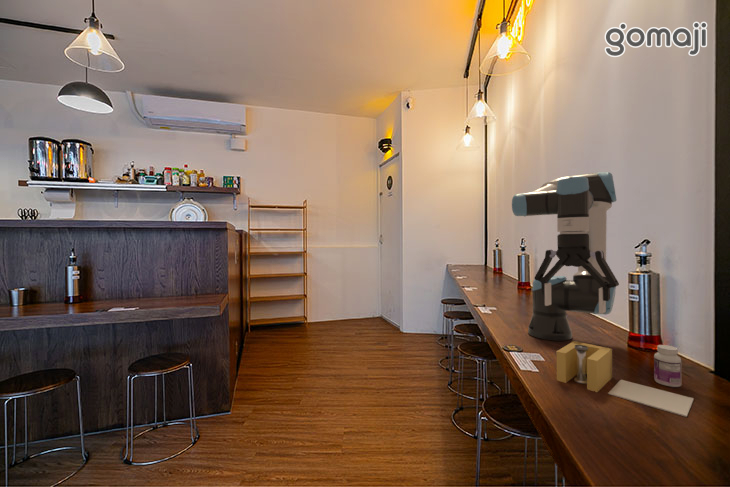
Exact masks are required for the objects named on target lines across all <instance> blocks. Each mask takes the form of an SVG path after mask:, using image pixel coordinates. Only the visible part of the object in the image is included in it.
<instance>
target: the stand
mask: <svg viewBox="0 0 730 487" xmlns="http://www.w3.org/2000/svg"><path fill="white" fill-rule="evenodd" d="M575 350H577V374H576V376H574V377H573V378H574V382H575V383H577V384H582V385H587V374H586V351H588V347H587V346H584V345H575Z"/></svg>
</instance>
